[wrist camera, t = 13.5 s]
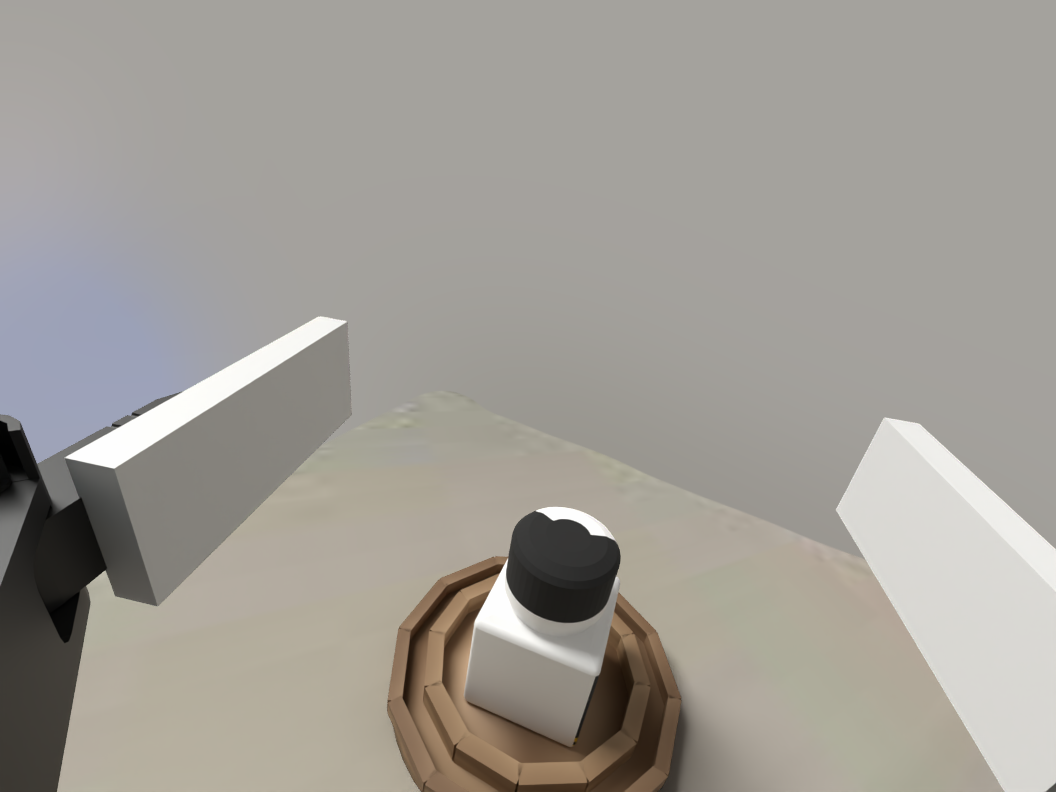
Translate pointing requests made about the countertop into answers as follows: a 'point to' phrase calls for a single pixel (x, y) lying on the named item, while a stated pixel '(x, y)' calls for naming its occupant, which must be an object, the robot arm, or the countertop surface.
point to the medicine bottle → (546, 624)
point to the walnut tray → (506, 747)
